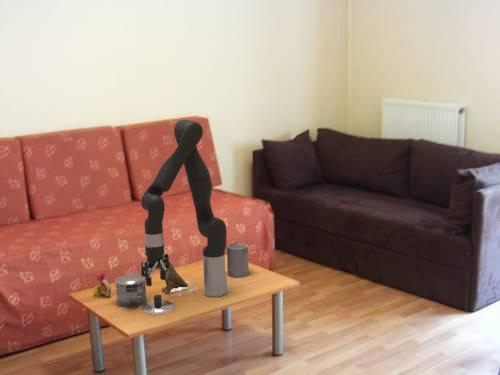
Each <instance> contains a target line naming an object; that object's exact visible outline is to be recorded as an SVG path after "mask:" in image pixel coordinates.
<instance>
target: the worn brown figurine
mask: <svg viewBox="0 0 500 375" xmlns="http://www.w3.org/2000/svg"><path fill="white" fill-rule="evenodd" d="M165 264H166V262H165ZM164 281H165V287H162V288H161V293H163V294H165V295H170V294H169V293H170V291H171V289H173V288H178V287H187V286H188V285H189V284H188V283H187V282H186V281H185V280H184V278H182V277H181V275H179V273H178V272H177V270H176V268H175V267H174V266H173V264H172V263H171V262H170V261H169V268H167V270H166V279H165V280H164Z"/></svg>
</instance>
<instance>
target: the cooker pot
mask: <svg viewBox="0 0 500 375" xmlns="http://www.w3.org/2000/svg"><path fill="white" fill-rule="evenodd" d="M114 282H115V290H116V292H115V293H116V301H117V302H116V304H117V305H118V306H119V307H122V308H137V307H140V306H141V307H142V306H143V305H144V304H146V303H147V301H148V300H147V298H148V297H147V288H146V287H147V285H146V277H143V276H141V274H140V273H139V274H138V273H128V274H123V275H120V276H117V277H116V278H115V279H114Z"/></svg>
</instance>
